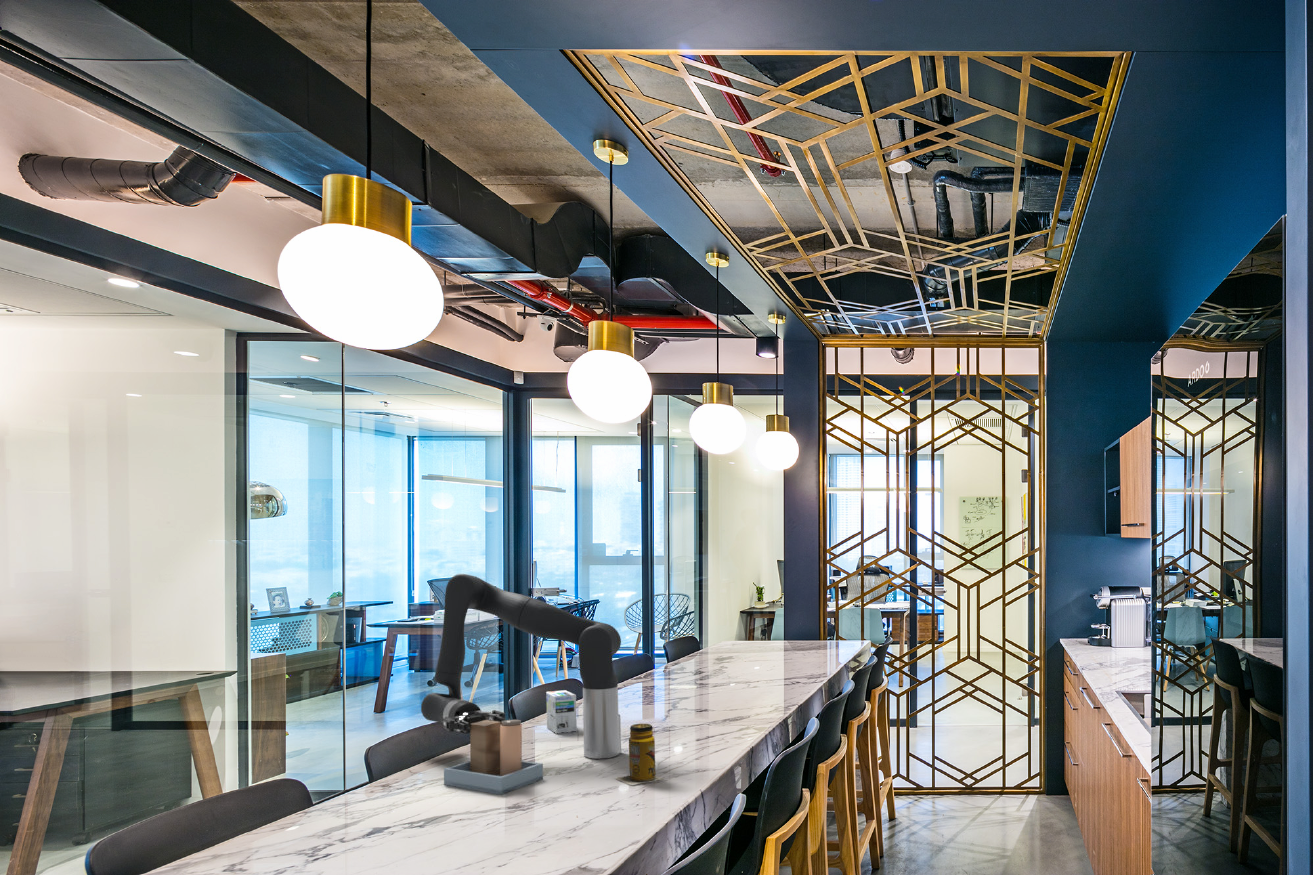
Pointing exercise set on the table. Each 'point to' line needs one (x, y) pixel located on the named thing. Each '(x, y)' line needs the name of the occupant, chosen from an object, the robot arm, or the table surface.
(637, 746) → the condiment
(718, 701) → the table surface
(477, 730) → the walnut block
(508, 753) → the terracotta jar
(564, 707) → the light bulb box
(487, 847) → the table surface
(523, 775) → the tote
